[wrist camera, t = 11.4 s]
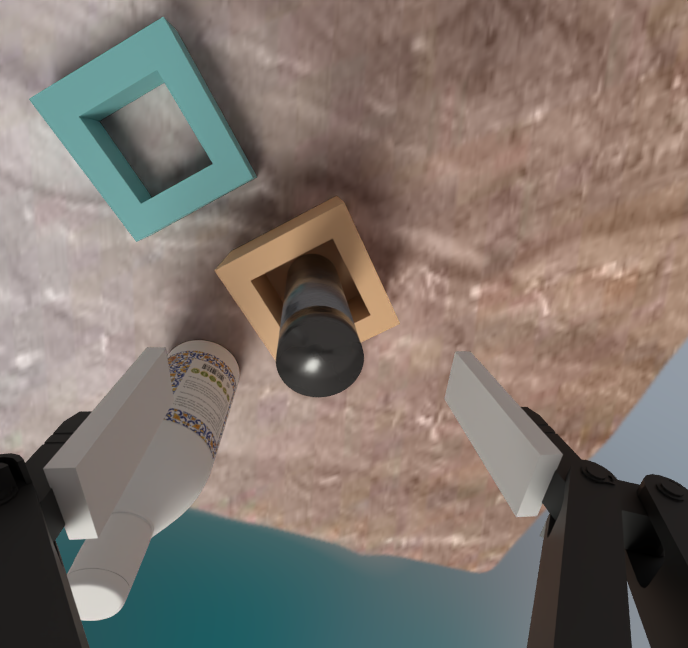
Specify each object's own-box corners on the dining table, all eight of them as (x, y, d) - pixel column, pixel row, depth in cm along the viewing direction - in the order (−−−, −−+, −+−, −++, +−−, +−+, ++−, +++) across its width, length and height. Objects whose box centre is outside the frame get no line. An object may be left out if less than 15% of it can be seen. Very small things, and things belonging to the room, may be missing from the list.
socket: (231, 251, 30) (214, 270, 24) (336, 195, 29) (344, 202, 23) (289, 343, 34) (287, 377, 28) (384, 297, 33) (400, 323, 27)
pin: (277, 268, 30) (258, 345, 17) (323, 244, 29) (340, 305, 16) (302, 311, 31) (302, 409, 19) (346, 289, 31) (377, 374, 18)
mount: (54, 105, 24) (29, 98, 22) (177, 31, 23) (163, 16, 21) (149, 235, 28) (136, 241, 26) (257, 177, 27) (252, 178, 25)
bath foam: (176, 326, 32) (8, 539, 14) (250, 352, 34) (187, 569, 15) (157, 386, 34) (-10, 636, 16) (227, 407, 36) (149, 653, 18)
